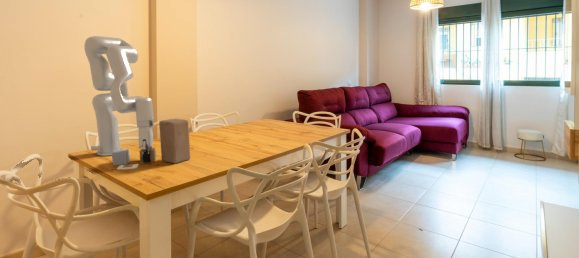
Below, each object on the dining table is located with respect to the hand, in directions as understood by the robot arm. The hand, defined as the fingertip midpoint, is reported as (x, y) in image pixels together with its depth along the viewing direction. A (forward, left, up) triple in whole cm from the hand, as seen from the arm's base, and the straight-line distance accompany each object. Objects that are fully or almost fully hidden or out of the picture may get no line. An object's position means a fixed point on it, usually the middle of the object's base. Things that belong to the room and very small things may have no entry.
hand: (148, 159), depth 157 cm
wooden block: (+13, -1, -1) cm, 13 cm away
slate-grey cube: (-12, 0, -1) cm, 12 cm away
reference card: (-7, -8, -1) cm, 11 cm away
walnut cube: (0, 0, -1) cm, 1 cm away
